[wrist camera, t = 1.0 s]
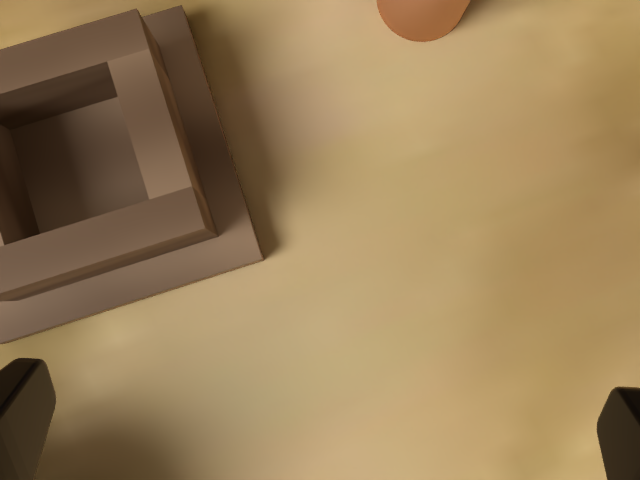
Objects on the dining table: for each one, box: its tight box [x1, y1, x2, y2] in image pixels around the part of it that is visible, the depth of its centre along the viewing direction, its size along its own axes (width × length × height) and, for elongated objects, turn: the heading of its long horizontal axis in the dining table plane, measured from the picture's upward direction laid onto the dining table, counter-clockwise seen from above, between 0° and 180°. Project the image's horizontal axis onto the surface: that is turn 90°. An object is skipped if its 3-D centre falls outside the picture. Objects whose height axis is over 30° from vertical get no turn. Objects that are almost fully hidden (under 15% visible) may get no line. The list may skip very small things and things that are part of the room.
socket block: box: [0, 5, 264, 344], centre depth 21 cm, size 10×10×4 cm
